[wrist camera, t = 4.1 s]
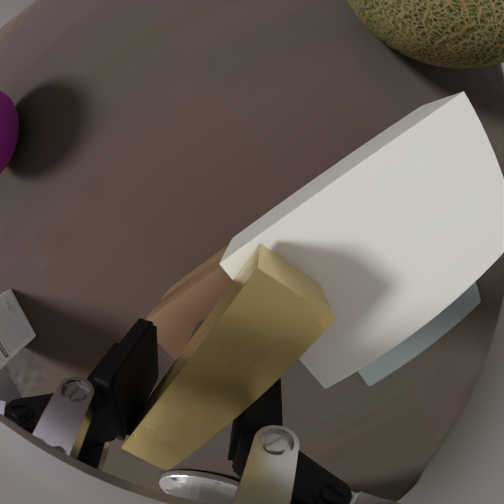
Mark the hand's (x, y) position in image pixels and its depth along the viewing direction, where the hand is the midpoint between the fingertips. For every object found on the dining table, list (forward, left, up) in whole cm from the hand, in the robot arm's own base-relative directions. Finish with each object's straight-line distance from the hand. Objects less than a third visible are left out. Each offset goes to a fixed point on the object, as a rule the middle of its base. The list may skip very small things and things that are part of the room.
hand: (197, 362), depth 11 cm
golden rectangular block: (0, -1, -3) cm, 3 cm away
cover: (0, -9, -2) cm, 9 cm away
